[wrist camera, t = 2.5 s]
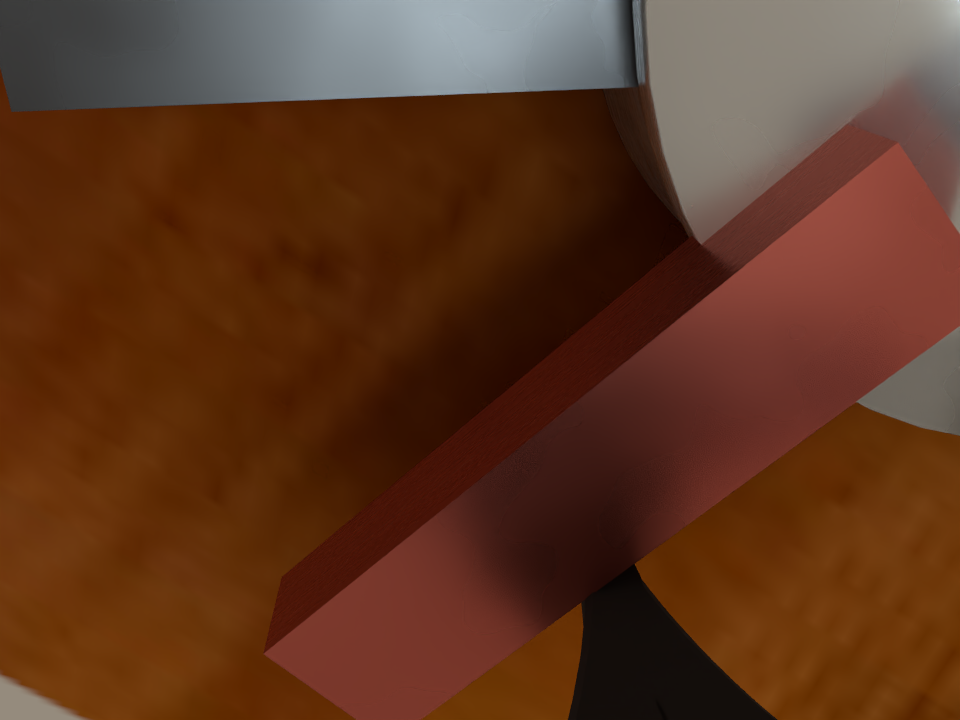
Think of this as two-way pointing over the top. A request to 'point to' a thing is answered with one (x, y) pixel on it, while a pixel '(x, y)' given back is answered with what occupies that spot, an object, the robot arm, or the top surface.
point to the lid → (676, 346)
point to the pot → (321, 54)
